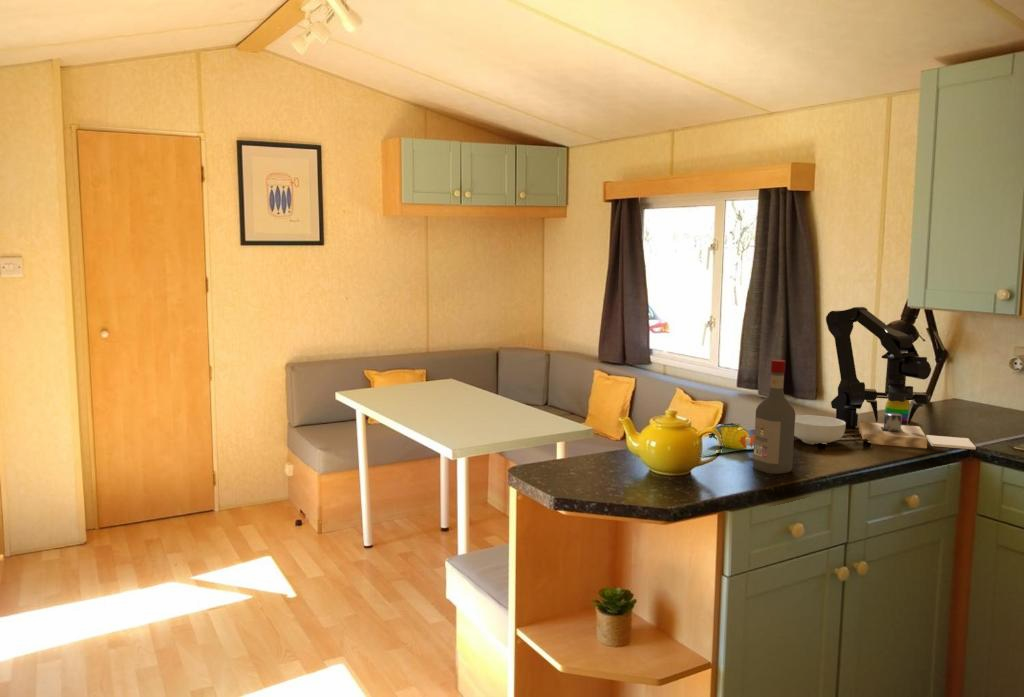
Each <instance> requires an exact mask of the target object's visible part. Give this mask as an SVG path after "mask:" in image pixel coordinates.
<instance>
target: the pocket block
mask: <svg viewBox="0 0 1024 697" xmlns="http://www.w3.org/2000/svg"><path fill="white" fill-rule="evenodd" d="M858 425H859V426H858V433H859V435H860V434H861V436H862V438H863V439H867V440H869V441H870V443H871V444H870V445H880V446H881V445H882V446H894V447H895V446H896V447H906V448H915V449H918V448H919V449H927V448H928V439H927V437H926V435H925V433H924V432H923V430H922V429H921V427H920V426H917V425H908V424H905V425H904V424H901V433H899V432H886V431H883V428H884V423H879V422H867V421H859V422H858ZM861 436H860V437H861Z"/></svg>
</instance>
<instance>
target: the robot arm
mask: <svg viewBox="0 0 1024 697" xmlns="http://www.w3.org/2000/svg"><path fill="white" fill-rule="evenodd" d="M825 322H826V325H827V326H826V327H827V329H828V331H829V332H830V334H831V335H832V336H833V337H834V338H833V339H834V342H835V344H834V345H835V348H836V349H835V350H836V356H837V363H838V368H839V369H838V370H839V375H840V382H839V383H838V386H837V395H835V397H834V398H833V399H832V400H831V401H830V406H831V409H835V417H834V418H836V419H840V420H842V421H844V422H845V423H846V427H845V429H855V430H856V429H857V427H858V423H859V422H858V421H859V420H858V419H859V413H858V412H857V410H858V409H859V410H861V409H862V407H863V404H864V402H865V401H866V403H869V404H870V406H871V408H872V412H873V415H874V420H875V423H878V420H879V419H878V418H879V413H878V401H877V399H887V400H889V401H900V402H905V400H909V402H910V408H909V413H908V419H907V420H906V421H907V424H906V425H907V426H910V423H911V421H912V420H913V417H914V415H915V413H916V411H917V410H918V409H919V408H921V407H923V406H924V405H928V404H929V396H928V394H927V393H926V392H921V391H920V392H919V391H914V386H911V385H907V384H906V382H907V377H908V378H914V379H918V380H926V379H928V378H929V377H930V376H931V372H932V366H931V364H930V362H929V361H928V357H927V356H920V354H919V353H918V351H917V349H916V348H915V345H914V343H913V339H912V338H911V336H910V335H908V334H906V333H905V332H903V331H900V330H897V329H893V328H891V327H890V326H889V325H887V324H886V323H885V322H884V321H882V320H881V319H880V318H878V317H877V316H876V315H874V314H873V313H872V312H870V311H869V310H868V308H866V306H865V307H864V306H854V307H851V308H848V309H843V310H831V311H829V312H828V313H827V315H826V317H825ZM856 322H857V323H859V324H860V325H861V326H863V327H864V328H865V329H867V331H869V332H870V333H871V334H872V335H874V336H876V338H878V339H879V341H880V345H881V346H882V347H883V348H884V349H885V350H886V351H887V352H885V354H883V355H882V356H881V358H882V359H884V360H886V361H887V362H886V373H885V384H884V385H885V386H884V392H882V391H881V392H880V391H877V389H876V388H866V384H865V382H863V381H862V382H861V381H860V380H859V379H858V376H857V371H856V364H855V358H854V357H855V356H854V352H853V351H854V350H853V346H852V340H851V334H852V332H853V329H854V323H856Z"/></svg>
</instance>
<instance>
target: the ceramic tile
mask: <svg viewBox="0 0 1024 697" xmlns="http://www.w3.org/2000/svg"><path fill="white" fill-rule="evenodd" d="M925 436H926V437H927V442H929V444H930V446H932V447H939V448H940V447H941V448H951V449H952V448H953V449H962V450H974V451H975V450H976V448H977V447H976V446H975V445H974V443H973V442H972V441H971V440H970V438H968V437H956V436H955V437H954V436H944V435H931V434H930V435H929V434H926V435H925Z"/></svg>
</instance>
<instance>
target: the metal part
mask: <svg viewBox="0 0 1024 697" xmlns="http://www.w3.org/2000/svg"><path fill="white" fill-rule="evenodd" d="M901 421H902V415H901V414H896V413H884V418H883V424H884V428H883V431H886V432H899V433H901V425H902V422H901Z"/></svg>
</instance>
